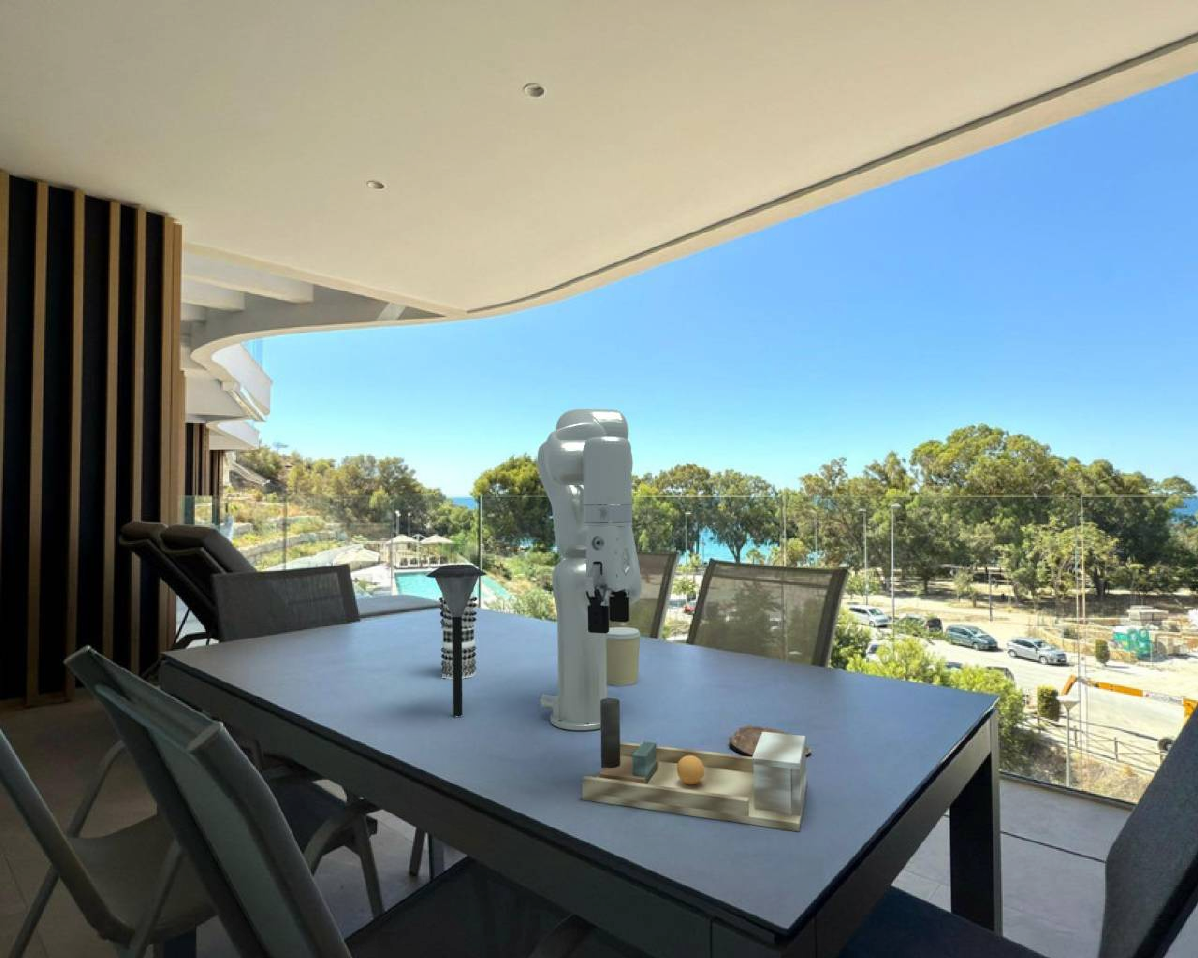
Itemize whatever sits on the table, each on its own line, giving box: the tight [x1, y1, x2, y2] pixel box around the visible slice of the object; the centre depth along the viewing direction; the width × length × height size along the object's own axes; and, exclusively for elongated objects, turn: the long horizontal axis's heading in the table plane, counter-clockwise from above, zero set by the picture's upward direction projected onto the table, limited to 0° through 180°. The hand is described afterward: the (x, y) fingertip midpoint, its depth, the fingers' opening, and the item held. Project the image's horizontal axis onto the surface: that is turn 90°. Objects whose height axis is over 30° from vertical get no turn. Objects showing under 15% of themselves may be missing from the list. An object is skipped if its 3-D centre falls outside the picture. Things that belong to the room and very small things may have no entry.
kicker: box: [598, 697, 659, 784], centre depth 106 cm, size 8×8×11 cm
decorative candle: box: [438, 589, 478, 679], centre depth 171 cm, size 9×9×25 cm
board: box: [581, 732, 808, 832], centre depth 102 cm, size 30×16×8 cm, turn 70°
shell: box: [728, 724, 812, 758], centre depth 119 cm, size 12×13×4 cm
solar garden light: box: [425, 564, 488, 716], centre depth 139 cm, size 12×12×30 cm
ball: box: [677, 755, 704, 785], centre depth 102 cm, size 4×4×4 cm
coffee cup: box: [606, 626, 641, 687], centre depth 164 cm, size 9×9×12 cm
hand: (609, 626), depth 107 cm, fingers open, 9 cm apart
